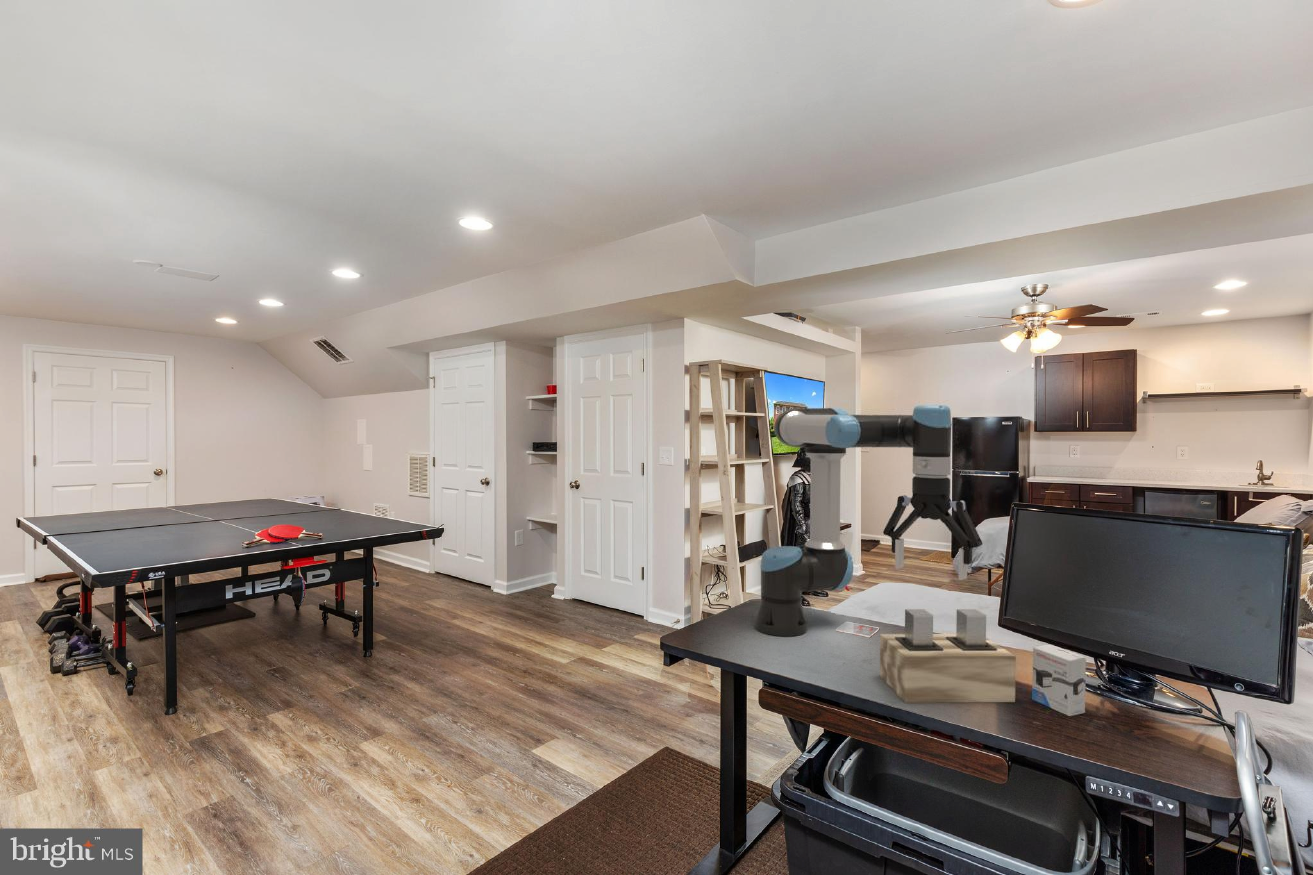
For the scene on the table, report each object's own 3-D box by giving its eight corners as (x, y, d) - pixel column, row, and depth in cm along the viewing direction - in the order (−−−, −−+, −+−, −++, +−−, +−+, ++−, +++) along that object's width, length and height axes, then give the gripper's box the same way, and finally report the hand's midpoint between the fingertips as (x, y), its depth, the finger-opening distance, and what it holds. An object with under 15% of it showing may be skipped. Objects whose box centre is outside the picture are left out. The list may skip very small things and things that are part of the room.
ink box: (1030, 699, 132) (1031, 646, 132) (1046, 696, 134) (1047, 643, 134) (1069, 717, 124) (1070, 660, 124) (1086, 713, 126) (1087, 657, 126)
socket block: (879, 675, 144) (880, 632, 144) (979, 675, 145) (979, 632, 144) (905, 702, 130) (905, 654, 130) (1014, 701, 131) (1015, 654, 131)
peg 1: (904, 649, 139) (905, 609, 139) (923, 649, 139) (924, 609, 139) (913, 657, 135) (913, 615, 135) (932, 657, 135) (933, 615, 135)
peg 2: (956, 649, 140) (956, 609, 139) (974, 649, 140) (975, 609, 139) (966, 656, 135) (966, 615, 135) (985, 656, 135) (986, 615, 135)
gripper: (868, 473, 138) (867, 566, 138) (987, 481, 120) (985, 587, 120) (884, 471, 143) (883, 561, 143) (1000, 478, 125) (998, 581, 125)
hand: (929, 573), depth 132 cm, fingers open, 13 cm apart
